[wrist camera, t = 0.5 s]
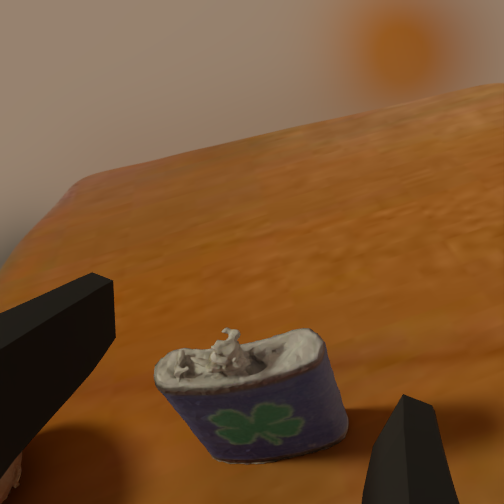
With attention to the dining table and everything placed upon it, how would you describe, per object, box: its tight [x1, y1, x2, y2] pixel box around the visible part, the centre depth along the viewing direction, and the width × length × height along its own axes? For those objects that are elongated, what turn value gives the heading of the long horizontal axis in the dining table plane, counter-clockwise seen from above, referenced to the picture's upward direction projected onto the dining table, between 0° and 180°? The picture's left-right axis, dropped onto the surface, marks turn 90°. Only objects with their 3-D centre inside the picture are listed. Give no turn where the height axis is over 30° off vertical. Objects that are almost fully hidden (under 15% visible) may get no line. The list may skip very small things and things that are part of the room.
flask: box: [154, 328, 349, 464], centre depth 24 cm, size 9×3×11 cm, turn 91°
